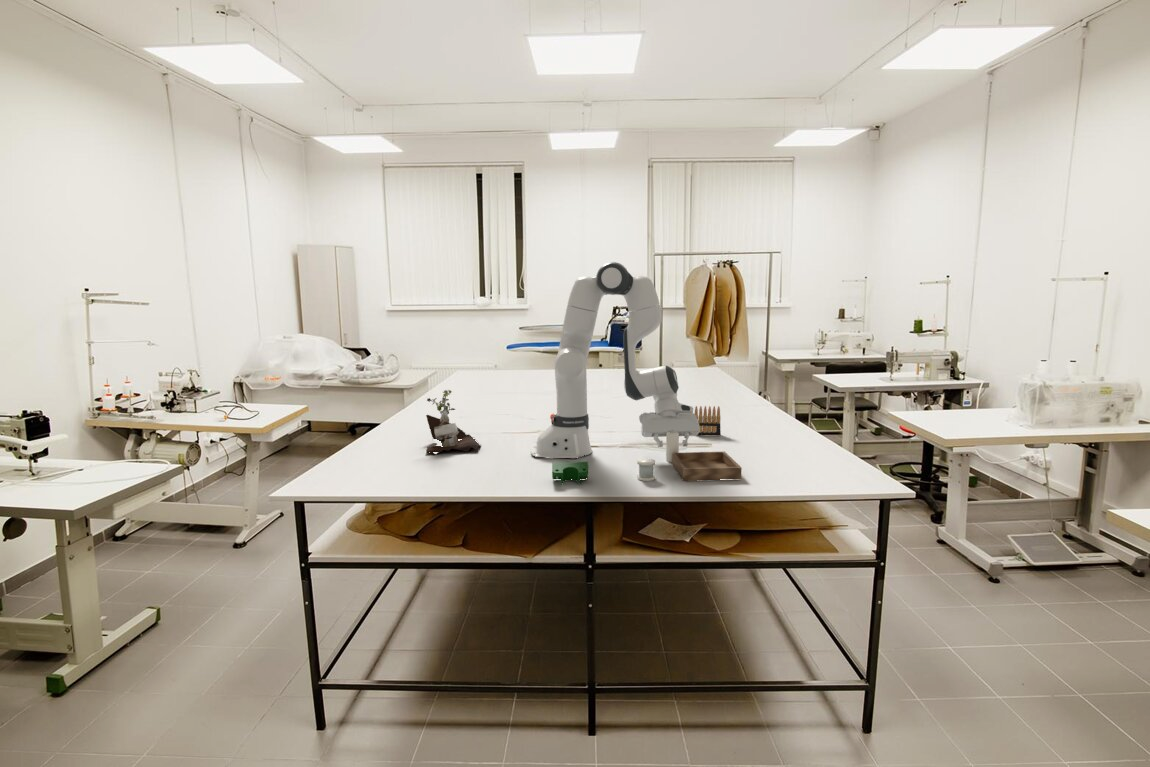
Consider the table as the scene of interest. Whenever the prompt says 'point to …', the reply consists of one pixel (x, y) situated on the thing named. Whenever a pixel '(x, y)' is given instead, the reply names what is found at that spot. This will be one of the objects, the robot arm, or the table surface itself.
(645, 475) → the small spool
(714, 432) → the ammunition clip
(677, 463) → the tray
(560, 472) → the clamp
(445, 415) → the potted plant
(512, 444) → the table surface
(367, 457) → the table surface
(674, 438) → the grey tall block
